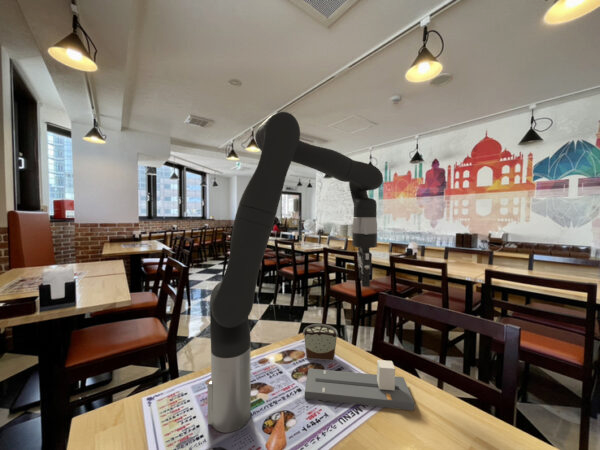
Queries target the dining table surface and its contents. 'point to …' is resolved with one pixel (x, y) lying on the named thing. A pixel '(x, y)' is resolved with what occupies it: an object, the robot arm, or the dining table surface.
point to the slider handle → (385, 375)
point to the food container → (320, 341)
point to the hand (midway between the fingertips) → (363, 282)
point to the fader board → (356, 389)
